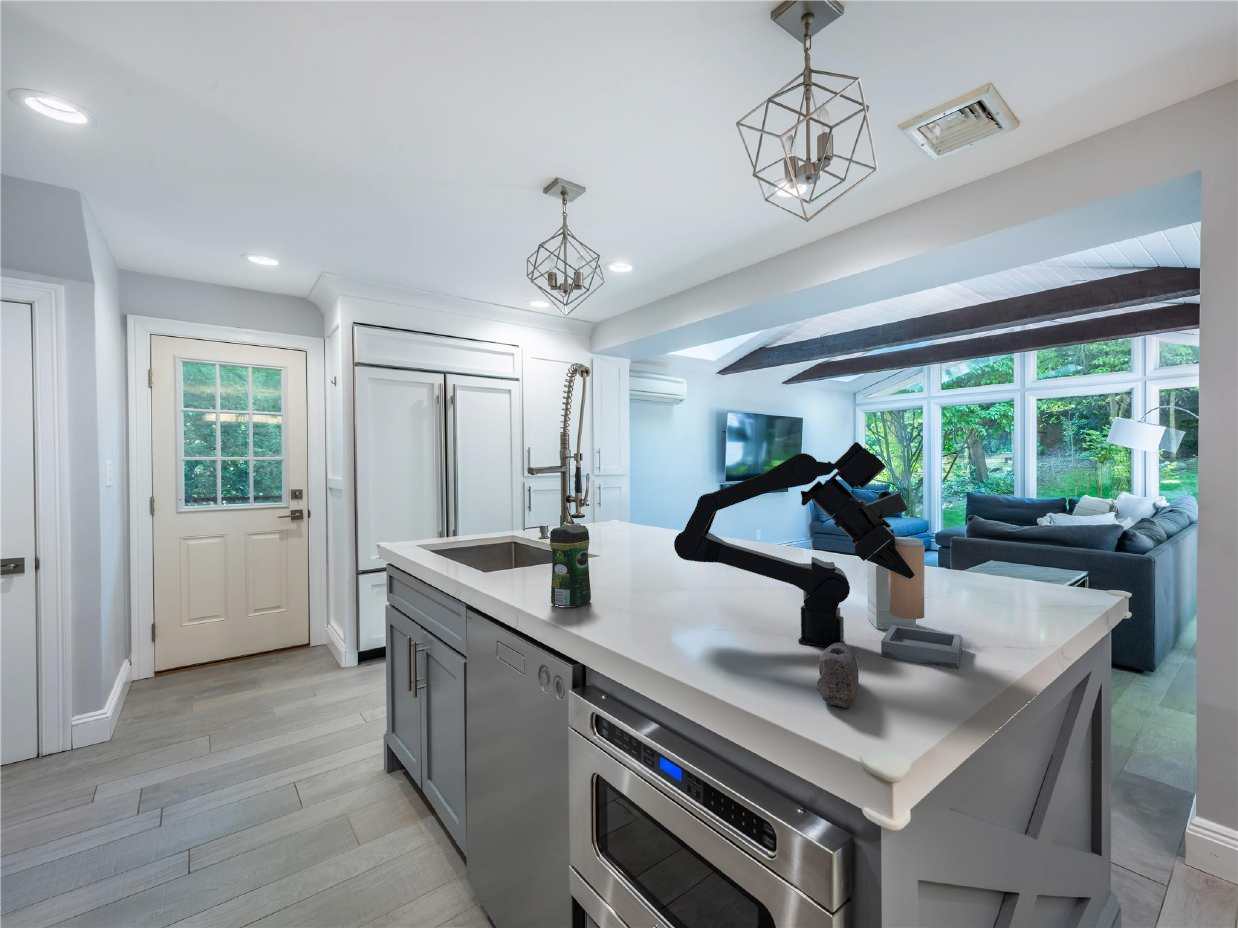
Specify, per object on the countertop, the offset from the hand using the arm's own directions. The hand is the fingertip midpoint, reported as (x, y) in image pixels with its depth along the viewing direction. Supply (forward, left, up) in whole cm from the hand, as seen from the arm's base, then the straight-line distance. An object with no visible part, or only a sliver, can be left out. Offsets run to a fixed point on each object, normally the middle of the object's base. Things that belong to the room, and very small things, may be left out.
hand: (911, 573), depth 96 cm
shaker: (-1, 0, -7) cm, 7 cm away
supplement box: (-6, +15, -14) cm, 21 cm away
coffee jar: (-72, -5, -14) cm, 73 cm away
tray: (+1, 0, -13) cm, 13 cm away
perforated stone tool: (-6, -25, -14) cm, 29 cm away
